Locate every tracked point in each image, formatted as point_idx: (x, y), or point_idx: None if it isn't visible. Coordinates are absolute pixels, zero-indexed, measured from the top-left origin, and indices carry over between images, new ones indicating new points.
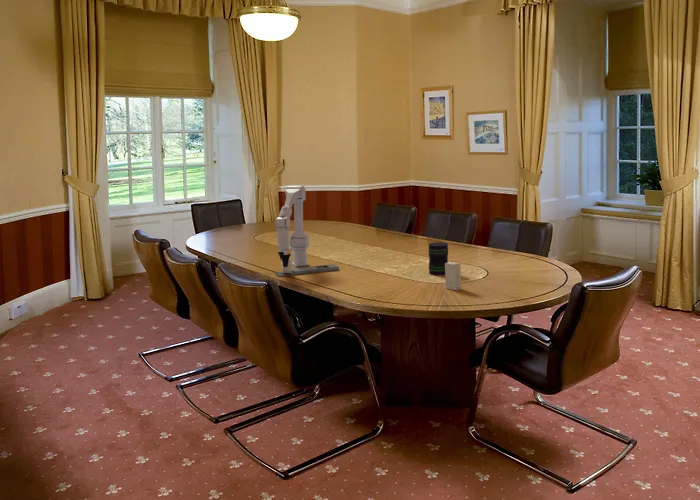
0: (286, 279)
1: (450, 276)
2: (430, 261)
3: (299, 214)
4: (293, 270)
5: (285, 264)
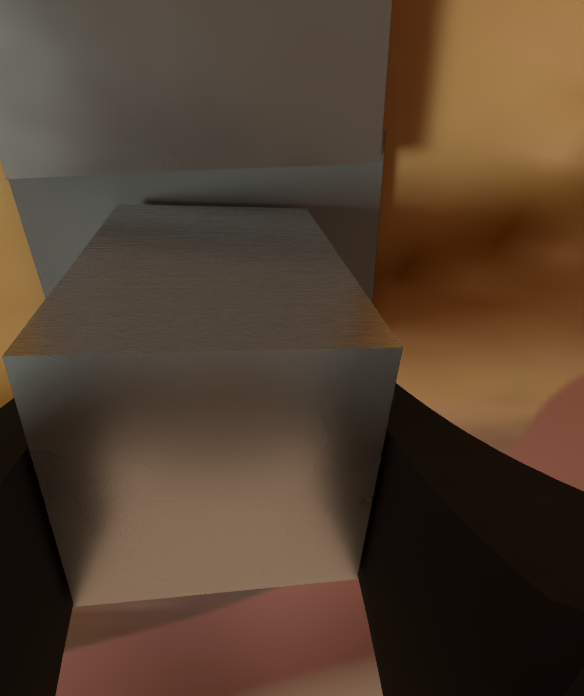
0: (567, 332)
1: None
2: None
3: None
4: (255, 159)
5: None
